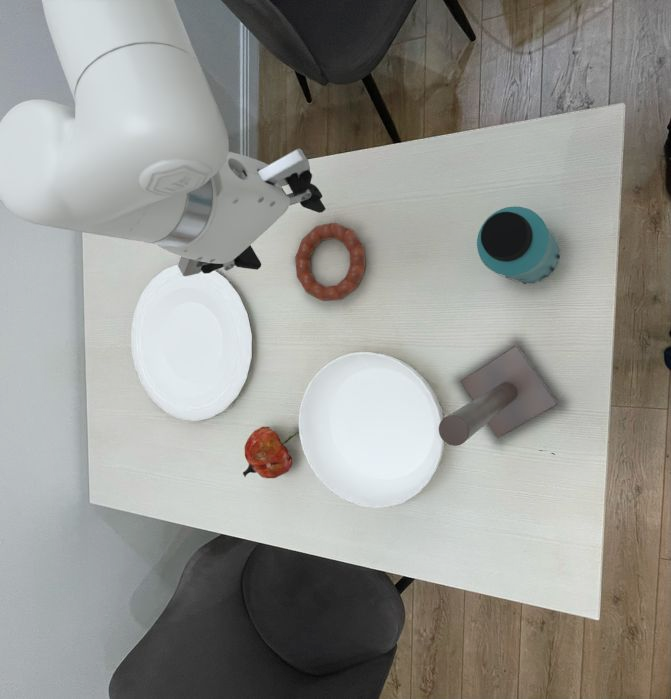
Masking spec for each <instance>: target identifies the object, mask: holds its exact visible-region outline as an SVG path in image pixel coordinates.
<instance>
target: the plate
mask: <svg viewBox="0 0 671 699" xmlns="http://www.w3.org/2000/svg"><path fill="white" fill-rule="evenodd" d="M178 264H179V263H177V264H175V265H172V266H169V267H167V268H165V269H163V270H162V271H161V272H159V273H158V274H157V275H156V276H154V277H153V278H152V279H151V280H150V281H149V283H148V284H147V285H146V287H144V288H145V289H143V291H142V293H141V294H140V297H139V299H138V302H137V304H136V306H135V309H134V312H133V318H132V322H131V328H130V350H131V355H132V360H133V366H134V369H135V372H136V374H137V376H138V378H139V382H140V384H141V387H142V388H143V389H144V390H145V392H146V393H147V395H148V397H149V398H150V399H151V401H152V402H153V403H155V404H156V405H157V406H158V407H159V408H160V409H161V410H162V411H164V413H167V414H169V415H171V416H173V417H175V418H177V419H179V420H184V421H192V422H198V421H203V420H209V419H212V418H214V417H216V416H218V415H219V414H221V413H222V412H224V411H226V410H227V409H228V408H229V407H230V406H231V405H232V404H233V403H234V402H235V401H236V399H237V398H239V396H240V393H241V392H242V390H243V388H244V386H245V384H246V382H247V380H248V377H249V373H250V369H251V364H252V360H253V340H254V338H253V337H254V335H253V331H252V325H251V321H250V316H249V313H248V311H247V308H246V306H245V304H244V301H243V299H242V297H241V295H240V293H239V292H238V291H237V290H236V288H235V287H234V286H233V285H232V283H231V281H230V280H229V279H228V278H227V277H225V276H224V275H223V274H221V273H220V272H218V271H217V270H214V271H212V272H211V273H206V274H204V273H203V272H200V273H198V274H194V275H190V276H183V274H182V273H181V271H180V269H179V267H178Z"/></svg>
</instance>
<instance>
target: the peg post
mask: <svg viewBox="0 0 671 699" xmlns="http://www.w3.org/2000/svg"><path fill="white" fill-rule="evenodd" d="M459 383H460V384H461V386H462V387H463V389H464V390H465V392H466V393H467V395H468V396H469V398H470V399H471V401H470V402H468V403H466V404H465V405H463V406H461V407H459V408H458V409H456V410H455V411H453V412H451V413H450V414H448V415H447V416H445V417H443V418H444V419H443V420H442V421H441V422H440V424H439V434H440V437H441V438H442V440H443V441H444V442H445V444H447V445H449V446H454V447H458V446H461V445H463V444H464V443H466V442H467V441H468V440H469V439H470V438H471V437H472V436H474V435H475V434H476V433H477V432H478V431H480V430H481V429H482V428H483V427H484V426H486V425H488V427H489V429H490V430H491V431H492V432H493V434H494V435H495V437H496V438H497V439H499V438H500V437H502V436H505V435H507V433H509V432H512V430H514V429H517V428H518V427H520V426H522V425H523V424H525V423H527V422H528V421H530V420H532V419H535V418H536V417H537V416H539V415H541V414H542V413H545V412H546V411H548V410H549V409H552V408H553V407H555V406H557V405H558V403H559V401H558V400H557V399H556V397H555V396H554V394H553V393H552V391H551V390H550V388H549V387H548V386H547V384H546V383H545V382H544V380H543V379H542V378H541V376H540V374H539V373H538V372H537V371H536V368H535V367H534V365H533V364H532V363H531V362H530V360H529V359H528V358H527V356H526V355H525V354H524V351H522V349H521V348H520V346H519V345H518V344H517V345H515V346H513V347H512V348H510V349H508V350H507V351H505V352H504V353H502V354H501V355H499V356H498V357H496V358H495V359H493V360H491V361H490V362H488V363H487V364H485V365H483V366H482V367H481V368H479V369H478V370H476V371H474V372H473V373H471V374H470V375H468V376H467V377H465V378H463V379H462V380H460V381H459Z"/></svg>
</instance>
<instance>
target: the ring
mask: <svg viewBox="0 0 671 699" xmlns="http://www.w3.org/2000/svg"><path fill="white" fill-rule="evenodd" d="M331 239H334V240H336V241H339V242H341V243H343V245H344V247H345V248H346V250H347V251H348V253H349V268H348V271H347V272H346V275H345V277H344V278H342V279H341V281H340V282H338V283H337V284H335V285H328V286H327V285H324V284H322V283H320V282H318V281H317V280H316V278H315V276H314V275H313V273H312V272H311V257H312V255H313V252H314V250H315V248H316V247H317V246H318V245H319V244H321V243H322V242H323V241H325V240H331ZM294 260H295V273H296V278H297V280H298V282H299V283H300V285H301V287H302V288H303V289H304V291H305V292H306V293H307V294H308V295H310V296H311V297H314V298H316V299H318V300H319V301H322V302H332V301H339V300H343V299H345V298H346V297H347V296H348V295H350V294H351V293H352V292H353V291H354V290H356V289H357V288H358V287H359V285H360V283H361V280H362V278H363V275H364V273H365V270H366V256H365V247H364V245H363V243H362V241H361V240H360V239H359V237H358V236H357V234H356V232H355V231H354V230H353V229H352V228H349V227H347V226H344V225H342V224H340V223H337V222H330V223H325V224H320V225H316V226H315V227H313V228H312V229H311V230H310V231H309V232H308V233H307V234H306V235H305V236H303V238H302V239H301V241H300V243H299V246H298V249H297V251H296V254H295V257H294Z"/></svg>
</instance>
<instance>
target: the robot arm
mask: <svg viewBox="0 0 671 699" xmlns="http://www.w3.org/2000/svg"><path fill="white" fill-rule="evenodd" d="M41 4H42V10H43V13H44V18H45V22H46V25H47V28H48V31H49V33H50V34H49V35H50V37H51V40H52V43H53V46H54V49H55V52H56V55H57V58H58V60H59V63H60V65H61V68H62V71H63V74H64V77H65V79H66V82H67V84H68V87H69V90H70V93H71V95H72V98H73V101H74V108H73V107H70V106H68V105H65V104H61V103H58V102H55V101H52V100H49V99H39V98H36V99H29V100H24V101H22V102H20V103H18V104H16V105H14V106H13V107H12V108H10V109H9V110H8V112H6V114H5V115H4V116H3V117H2V119H1V121H0V201H1V203H2V204H3V205H4V207H6V208H7V209H8V210H9V211H10V212H11V213H12V214H13V215H14V216H16V217H17V218H19V219H20V220H23V221H25V222H27V223H30V224H33V225H38V226H43V227H48V228H53V229H60V230H66V231H71V232H72V231H73V232H79V233H85V234H90V235H96V236H104V237H108V238H109V237H110V238H114V239H115V238H116V239H122V240H129V241H135V242H142V243H147V244H152V245H157V246H158V247H159V248H161V249H163V250H165V251H167V252H169V253H172V254H174V255H177V256H180V258H179V261H178V263H177V264H178V267H179V269H180V271H181V273H182V274H183V276H190V275H194V274H198V273H200V272H203V273H204V274H206V273H211V272H212V271H214V270H215V271H217V270H219V269H221V268H223V269H224V271H229V270H232V269H233V268H234V267H236V268H240V269H241V268H242V269H249V270H256V271H258V270H260V268H261V267H262V262H261V261H260V259H259V256H258V255H257V254H256V251H255V250H254V249H253V247H252V246H251V245H252V244H254V242H256V240H258V239H259V238H260V237H261V236H262V235H264V233H265V232H266V231H268V230H269V229H270V228H271V227H272V226H273V225H274V224H275V223H276V222H277V221H278V220H280V218H282V216H283V215H284V214H285V213H286V212H287V210H288V209H289V206H293V205H296V204H300V206H301V207H302V208H304V209H308V210H310V211H313V212H316V213H319V214H320V213H322V214H323V213H324V212H325V211H326V206H325V204H324V203H323V202H322V200H321V199H322V198H323V197H324V196H323V194H322V192H321V190H320V189H319V188H318V187H317V185H315V184H313V183H312V178H313V173H312V172H311V166H310V161H309V158H308V157H307V155H306V154H305V153H304V150H302V148H296V149H294V150H293V151H291V152H289V153H287V154H285V155H283V156H282V157H280V158H278V159H277V160H275V161H273V162H271V163H269V164H268V163H266V162H263V161H261V160H258V159H256V158H254V157H251V156H247V155H245V154H240V153H236V152H232V151H230V142H229V140H230V139H229V134H228V131H227V129H226V128H227V127H226V125H225V122H224V119H223V117H222V114H221V111H220V110H219V109H220V108H219V107H218V105H217V102H216V100H215V97H214V95H213V92H212V90H211V87H210V85H209V83H208V82H209V81H208V80H207V78H206V75H205V73H204V71H203V69H202V65H201V63H200V62H199V59H198V57H197V54H196V51H195V50H194V47H193V45H192V42H191V40H190V38H189V35H188V32H187V29H186V28H185V25H184V22H183V20H182V17H181V14H180V12H179V10H178V7H177V5H176V4H177V3H176V2H175V0H41ZM285 186H288V187H289V188H290V190H291V192H290V193H286V191H285V190H284V188H283V187H285Z"/></svg>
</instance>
